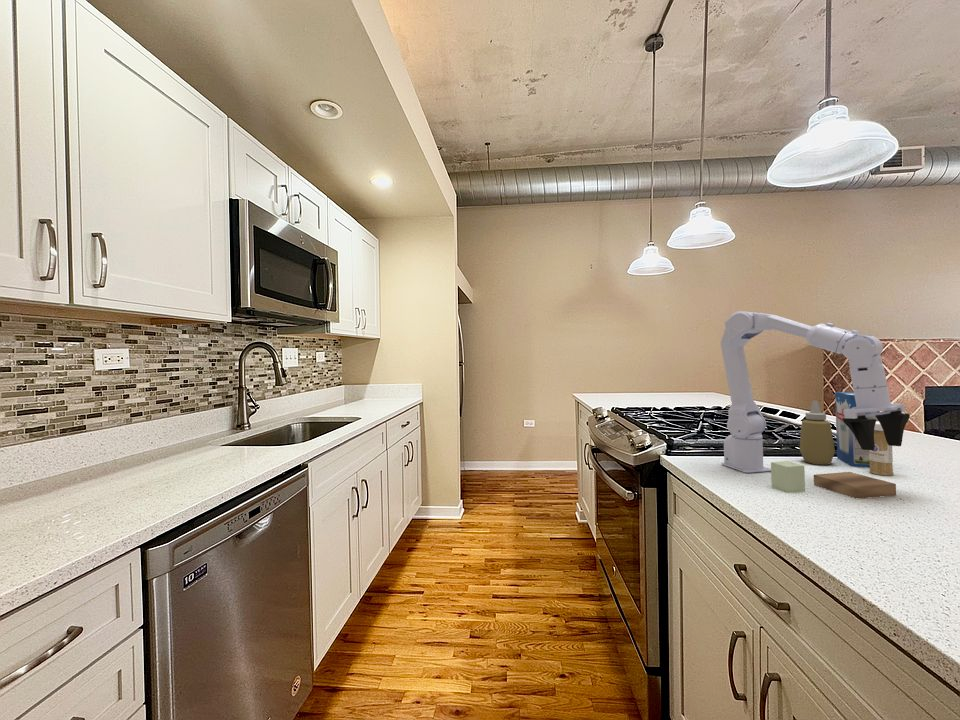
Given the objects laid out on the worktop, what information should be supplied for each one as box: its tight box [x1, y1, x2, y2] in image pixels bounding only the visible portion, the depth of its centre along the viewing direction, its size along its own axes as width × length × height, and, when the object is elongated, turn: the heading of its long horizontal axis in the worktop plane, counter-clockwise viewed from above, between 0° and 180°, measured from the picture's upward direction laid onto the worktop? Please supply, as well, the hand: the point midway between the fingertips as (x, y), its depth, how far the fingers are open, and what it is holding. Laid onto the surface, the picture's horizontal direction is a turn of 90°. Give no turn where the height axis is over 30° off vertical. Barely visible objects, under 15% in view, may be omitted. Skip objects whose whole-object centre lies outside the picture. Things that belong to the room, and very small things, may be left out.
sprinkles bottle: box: [869, 421, 894, 477], centre depth 106 cm, size 5×5×13 cm
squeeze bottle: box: [798, 400, 836, 466], centre depth 118 cm, size 8×8×18 cm
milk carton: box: [834, 391, 880, 469], centre depth 117 cm, size 10×6×20 cm, turn 157°
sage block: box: [770, 460, 806, 493], centre depth 97 cm, size 4×4×6 cm
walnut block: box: [813, 471, 897, 499], centre depth 95 cm, size 10×10×3 cm
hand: (881, 447), depth 91 cm, fingers open, 7 cm apart
